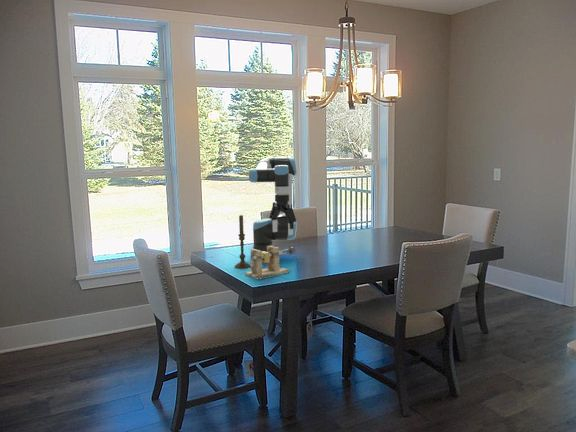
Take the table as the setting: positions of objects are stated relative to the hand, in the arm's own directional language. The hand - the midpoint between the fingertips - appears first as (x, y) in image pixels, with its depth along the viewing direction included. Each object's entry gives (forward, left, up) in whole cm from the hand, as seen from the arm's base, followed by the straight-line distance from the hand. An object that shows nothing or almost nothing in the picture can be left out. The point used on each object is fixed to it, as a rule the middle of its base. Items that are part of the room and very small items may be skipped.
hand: (282, 233), depth 255 cm
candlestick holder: (-13, -21, -21) cm, 32 cm away
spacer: (+6, -11, -14) cm, 18 cm away
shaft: (+3, -5, -13) cm, 14 cm away
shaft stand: (+5, -9, -21) cm, 23 cm away
